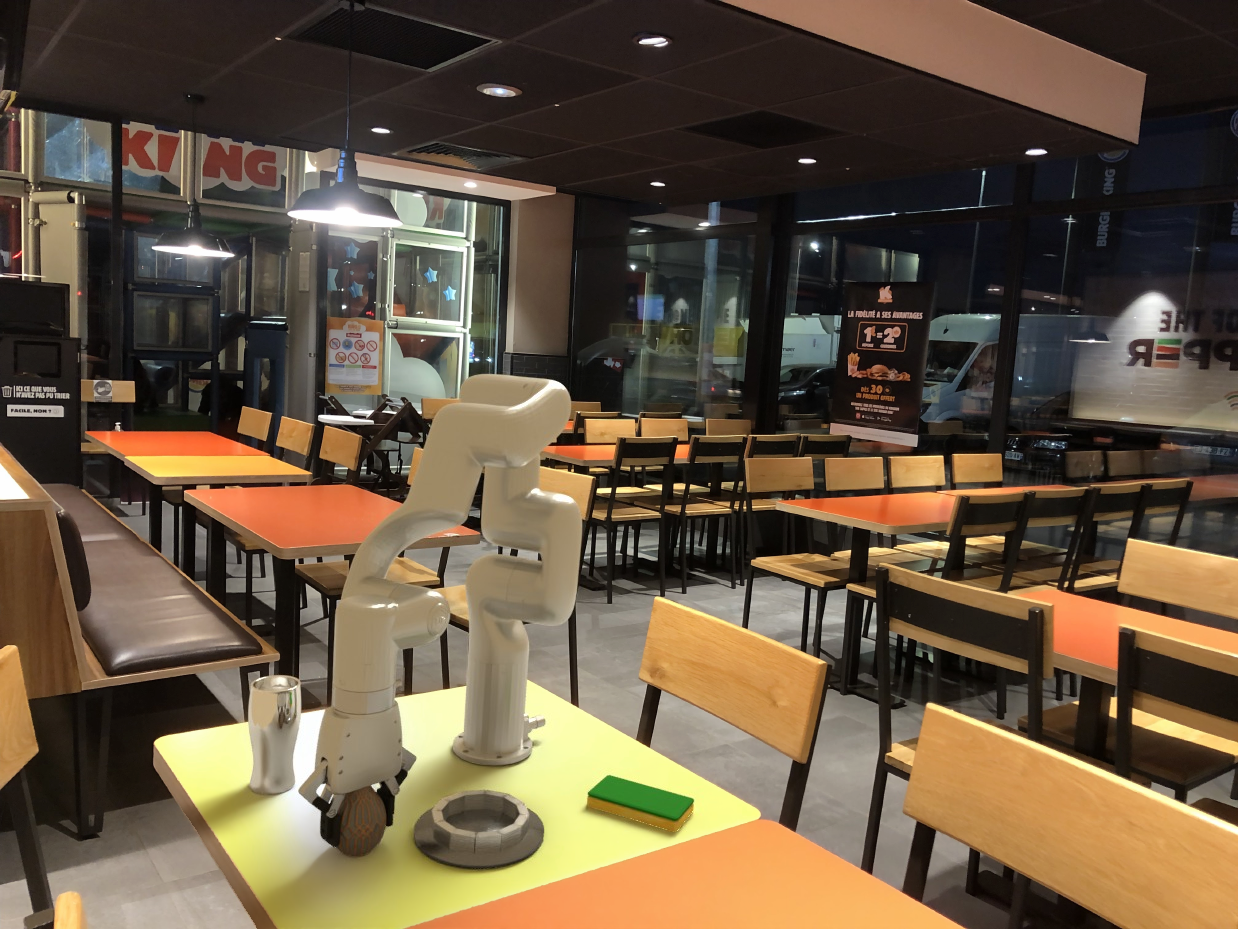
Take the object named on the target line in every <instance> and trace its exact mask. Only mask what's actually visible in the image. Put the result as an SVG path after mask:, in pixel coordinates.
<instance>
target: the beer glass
mask: <svg viewBox="0 0 1238 929" xmlns="http://www.w3.org/2000/svg"><path fill="white" fill-rule="evenodd" d="M301 690H302V689H301V681H300V679H299V678H297V677H294V676H291V675H286V674H285V675H283V674H282V675H281V674H278V675H277V674H275V675H274V674H273V675H267V676H263V677H262V676H261V677H259V678H256V679H255V680H253V681H252V682H251V683H250V691H249V699H248V708H247V709H248V710H247V711H248V712H247V714H248V715H247V716H248V717H247V718H248V720H247V722H248V725H247V726H248V733H249V737H250V738H249V740H250V745H251V751H252V760H253V762H252V770H251V771H252V772H251V776H250V780H249V789H250V790H251V791H252V792H253V793H255V794H258V795H266V796H270V795H271V796H272V795H279V794H283V793H285V792H288V791H289V790H291V789H292V788H293V787H294V786H295V785H296V775H295V770H294V753H295V748H296V743H297V739H298V734H299V730H300V723H301V716H302V692H301Z"/></svg>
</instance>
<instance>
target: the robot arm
mask: <svg viewBox="0 0 1238 929" xmlns="http://www.w3.org/2000/svg"><path fill="white" fill-rule="evenodd" d="M571 412H572V399H571V396H570V393H569V391H568V389H567V388H566V387H565V386H564V385H563V384H562V383H561V382H559V381H556V380H554V379H547V378H539V377H538V378H537V377H527V376H516V375H508V374H496V373H494V374H493V373H481V374H480V373H479V374H475V375H472V376H469V377H468V378H466V379H465V380H464V381H463V382H462V383H461V386H460V390H459V402H453V403H448V404H446V405H443V407H440V409H439V410H438V411H437V412H436V414H435V416H434V418H433V419H432V422H431V426H430V429H429V432H428V435H427V437H426V440H425V444H424V446H423V450H422V452H421V455H420V459H419V462H418V465H417V468H416V471H415V474H414V477H413V479H412V482H411V485H410V487H409V488H410V489H409V492H408V494H407V497H406V498H405V500H404V502H403V503H402V504H401V505H400V506H399V507H397V508H396V509H395V510H394V511H393V512H391V513H390V514H389V515H387V516H386V517H385V518H383V520H381V521H380V522H379V524H378V525H376V526H375V527H374V528H373V530H372V531H371V532H370V533H368V535H367V536H366V537H365V538H364V540H362V542H361V544H360V545H359V547H358V549H357V550H356V552H355V554H354V557H353V559H352V562H351V564H350V568H349V570H348V573H347V575H346V579H345V583H344V585H343V589H342V591H341V592H342V593H341V597H340V598H341V599H340V602H338V604H337V607H336V609H335V614H334V633H333V634H334V636H333V637H334V640H333V664H332V665H333V666H332V688H331V692H332V693H331V706H329V707H326V708H325V710H324V712H323V715H322V718H321V719H322V720H321V723H320V725H319V726H320V728H319V732H318V737H317V743H316V744H317V745H316V751H315V752H316V753H315V758H314V770H313V772H312V773H311V774H310V775H309V776H308V778H307V779H305V781H304V782H303V783H301V784H302V785H301V786H299V788H298V794H299V795H300V796H301V797H302V798H303V799H305V801H307V802H308V803H309V804H310V805H311V806H313V807H314V808H316V810H319V811H320V819H319V822H320V823H319V834H320V837H321V839H322V840H323V841H324V842H326V843H327V844H328V845H330V846H331V848H332V847H333V848H336V847H337V846H339V844H340V828H341V816H340V815H339V814H337V811H338V809H339V807H340V805H341V802H342V800H343V798H344V796H345V794H346V793H349V792H352V791H355V790H358V789H361V788H364V787H367V786H370V785H371V786H373V785H376V784H378V785H379V788H377V789H376V790H375V792H376V793H377V794H378V795H379V796H380V798H381V799H382V801H383V803H384V806H385V810H386V828H387V827H388V828H389V827H392V826H393V824H394V815H395V806H396V805H395V804H396V796H397V795H398V794H399V793H400V791H401V785H402V784H403V783H404V781H406V778H407V777H408V776H409V773H408V772H410V770H411V769H412V768H413V766H414V765H415V763H416V761H417V760H418V759H417V755H415V754H414V753H412V752H411V751H409V750H408V749H406V747H404V746H403V729H402V728H403V727H402V719H401V718H402V717H401V712H400V707H399V703H398V701H397V700H395V699H396V692H397V691H398V690H400V689H402V687H403V681H402V679H401V678H396V677H397V675H396V674H397V659H398V658H397V656H398V652H399V651H401V650H405V649H413V648H419V647H422V646H427V645H429V644H431V643H433V642H435V641H436V640H437V639H439V638H440V637H441V636H442V635H443V634H444V632H445V631H446V630H447V627H448V625H449V623H450V620H451V608H450V605H449V601H448V600H447V598H446V597H445V596H444V595H443V594H442V593H440V592H439V591H437V590H436V589H433V588H429V587H425V586H421V585H417V584H416V585H415V584H411V583H405V582H401V581H397V580H396V581H395V580H390V579H386V577H387V575H388V573H389V570H390V568H391V566H392V564H393V563H394V561H395V560H396V558H397V557H398V556H399V555H400V554H401V552H403V551H404V550H405V549H407V548H408V547H409V546H411V545H412V544H414V543H415V542H417V541H420V540H422V539H424V538H427V537H429V536H430V537H431V536H432V535H435V534H438V533H441V532H445V531H447V530H450V529H455V528H456V527H459V526H461V525H462V524H464V523H465V522H466V521H467V520H468V518H469V517H468V516H469V515H470V510H471V507H472V503H473V501H474V497H475V493H476V491H477V489H478V488H477V487H478V485H479V481H480V478H481V475H482V472H483V469H484V480H483V490H482V491H483V492H482V502H481V503H482V504H481V515H480V516H481V520H480V525H481V526H480V527H481V528H480V529H481V533H482V537H483V538H484V540H486V541H487V542H488V543H490V544H493V545H495V546H499V547H503V548H508V549H514V550H520V551H523V552H524V551H526V552H530V553H537V554H540V557H541V560H535V559H530V558H527V557H520V556H515V555H507V554H499V553H498V554H497V553H492V554H486V555H482V556H480V557H479V558H477V559H476V560H474V561H473V562H472V564H471V565H470V566H469V568H468V570H467V573H466V577H465V598H466V603H467V604H466V605H467V610H468V633H469V634H468V651H467V652H468V653H467V667H466V668H467V669H466V683H465V684H466V685H465V686H466V687H465V699H464V700H465V703H464V720H463V722H464V723H463V724H464V725H463V731H462V732H461V733H458V734H457V735H456V736H455V737H454V739H453V742H452V750H453V752H454V754H455V755H456V756H458V757H459V758H460V759H462V760H463V761H466V762H469V763H472V764H475V765H483V766H505V765H510V764H515V763H519V762H520V761H524V760H525V759H526V758H528V757H529V756H530V755H531V753H532V751H533V740H532V739H531V737H529V734H531V733H532V731H533V730H536V729H539V728H542V727H545V725H546V718H545V717H544V715H542V714H539V715H536V716H533V717H529V714H527V713H526V702H527V701H526V700H527V683H528V670H529V657H530V643H529V636H528V633H527V631H526V630H527V629H526V627H525V626H524V623H523V622H526V623H531V624H536V625H537V624H538V625H543V626H551V627H556V626H561V625H562V624H563V625H564V623H566V622H567V621H568V619H570V617H571V615H572V613H573V610H574V608H575V603H576V599H577V592H578V582H579V570H580V560H581V548H582V540H583V539H582V537H583V518H582V512H581V509H580V506H579V505H578V503H577V502H576V500H575V499H574V498H572V497H571V496H569V495H567V494H564V493H561V492H559V493H558V492H555V491H554V492H553V491H545V490H541V488H540V472H541V471H540V470H541V455H540V453H541V452H543V451H544V450H545V449H546V448H547V447H548V446H550V445H551V444H552V443H553V442H554V441H555V440H556V439H557V438H558V437H559V436H560V435H561V433H562V432H563V431H564V429H565V428H566V426H567V424H569V419H570V418H571ZM321 785H324V787H323V790H322V792H321V793H320V795H319V794H318V793H317V791H318V789H319V788H320V786H321Z"/></svg>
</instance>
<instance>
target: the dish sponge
mask: <svg viewBox="0 0 1238 929" xmlns="http://www.w3.org/2000/svg"><path fill="white" fill-rule="evenodd" d="M586 799H587V800H586V806H587V807H588V806H589V807H590V808H592V809H595V808H596V810H599V811H602V810H603V811H602V812H605V811H606V813H608V812H610V813H609V814H612V813H613V815H615V814H617V815H616V816H618V815H620V816H619V817H622V816H624V817H623V818H625V817H627V818H626V819H628V818H632V819H634V820H633V821H635V820H638V821H641V822H640V823H642V822H644V823H643V824H645V823H647V824H646V825H648V824H651V825H650V826H652V825H653V826H652V827H655V826H657V827H656V828H659V827H660V828H659V829H662V828H664V829H663V830H665V829H667V830H666V831H669V832H672V831H674V832H673V833H676V832H675V831H677V830H678V829H679V830H680V828H681V827H682V826H683V825H684V824H685V822H686V821H687V820H688V819H689V818H688V816H689V815H690V814H691V813H692V811H693V812H694V803H695V799H694V798H692V797H690V796H686V795H682V794H680V793H675V792H671V791H668V790H665V789H661V788H658V787H654V786H650V785H648V784H647V785H646V784H643V783H640V782H636V781H633V780H628V779H625V778H622V777H619V776H614V775H611V774H609V775H606V776H605V777H603V779H601V780H600V781H599V782H598V783H597V784H596V785H595V786H593V787H592V788H591V789H590V790H588V791H587V797H586ZM589 807H588V808H589ZM692 814H693V813H692ZM692 814H691V815H692ZM691 815H690V816H691ZM690 816H689V817H690ZM687 818H688V819H687ZM632 819H631V820H632ZM686 819H687V820H686ZM685 820H686V821H685ZM638 821H637V822H638ZM684 821H685V822H684ZM683 823H684V824H683ZM682 824H683V825H682ZM680 826H681V827H680ZM679 830H678V831H679ZM678 831H677V832H678Z"/></svg>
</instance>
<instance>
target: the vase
mask: <svg viewBox="0 0 1238 929" xmlns="http://www.w3.org/2000/svg"><path fill="white" fill-rule="evenodd" d="M337 814H339V815H340V816H341V828H340V844H339V846H337V847H335V848H336V849H337V851H338V852H340V853H341V854H343V855H344V856H347V857H352V858H353V857H362V856H363V857H364V856H365V855H368V854H369V853H371V852H373V850H375V848H376V849H377V847H378V846H379V844H380V843H381V841H382V839H383V837H384V834H385V832H386V828H387V826H386V810H385V806H384V803H383V801H382V799H381V798H380V796H379V795H378V794H377V793H376V790H375V789H374V788H373V785H370V786H367V787H364V788H361V789H358V790H355V791H352V792H349V793H346V794H345V796H344V798H343V800H342V802H341V805H340V807H339V809H338V811H337Z"/></svg>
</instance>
